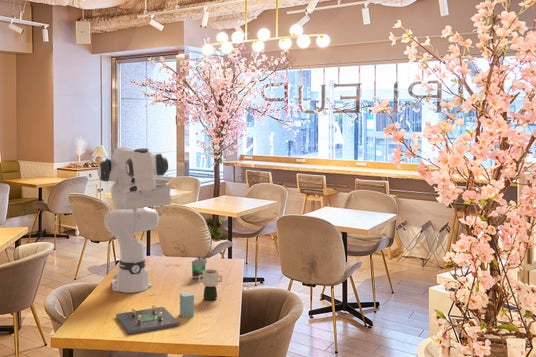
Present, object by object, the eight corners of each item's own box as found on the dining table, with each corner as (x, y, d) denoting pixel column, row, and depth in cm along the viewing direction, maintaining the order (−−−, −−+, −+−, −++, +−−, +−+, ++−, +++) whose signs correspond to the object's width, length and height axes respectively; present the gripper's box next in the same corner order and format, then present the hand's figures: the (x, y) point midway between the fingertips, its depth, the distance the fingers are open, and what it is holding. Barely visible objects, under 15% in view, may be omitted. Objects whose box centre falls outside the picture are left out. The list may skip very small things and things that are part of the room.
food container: (203, 281, 269) (203, 261, 268) (191, 280, 270) (191, 261, 269) (209, 274, 281) (209, 256, 280) (198, 273, 282) (198, 255, 281)
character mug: (222, 296, 245) (222, 269, 244) (221, 301, 238) (222, 273, 237) (199, 296, 245) (199, 269, 243) (197, 301, 237) (198, 273, 236)
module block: (179, 314, 221) (179, 293, 220) (189, 312, 223) (190, 292, 222) (183, 317, 217) (183, 296, 216) (193, 316, 219) (193, 295, 218)
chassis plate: (116, 317, 216) (115, 306, 215) (163, 310, 225) (163, 299, 225) (128, 334, 198) (128, 323, 198) (178, 325, 208) (179, 314, 207)
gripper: (168, 182, 234) (171, 213, 236) (121, 188, 227) (125, 219, 228) (171, 183, 229) (174, 214, 230) (123, 189, 221) (126, 221, 222)
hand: (149, 217), depth 229 cm, fingers open, 8 cm apart
